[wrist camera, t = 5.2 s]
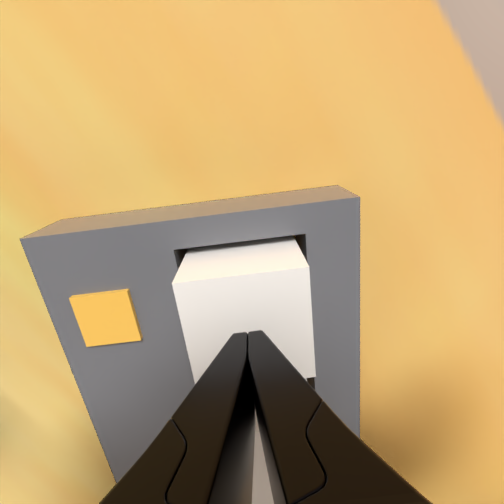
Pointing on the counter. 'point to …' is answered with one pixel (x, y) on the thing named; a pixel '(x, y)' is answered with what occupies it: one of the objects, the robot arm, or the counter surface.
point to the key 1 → (246, 299)
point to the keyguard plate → (165, 308)
